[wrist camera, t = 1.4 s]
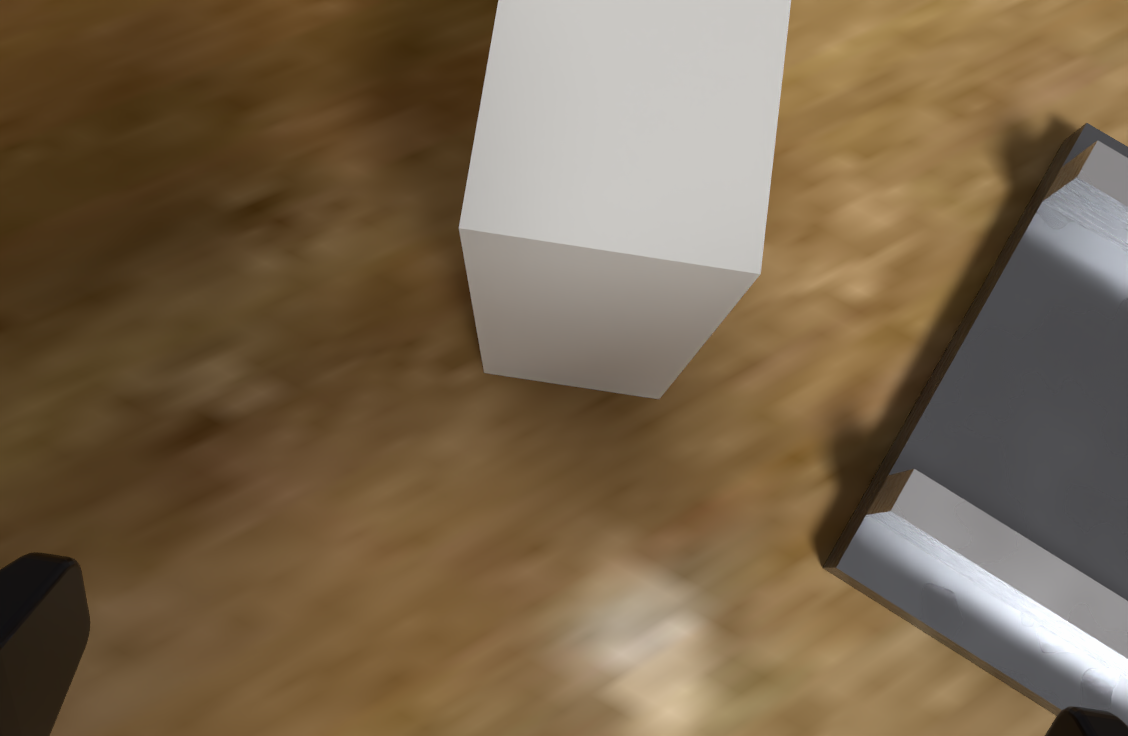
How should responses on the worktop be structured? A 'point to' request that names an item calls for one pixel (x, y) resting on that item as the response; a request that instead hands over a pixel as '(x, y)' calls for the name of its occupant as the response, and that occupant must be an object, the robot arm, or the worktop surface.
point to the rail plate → (1022, 457)
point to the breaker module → (619, 184)
